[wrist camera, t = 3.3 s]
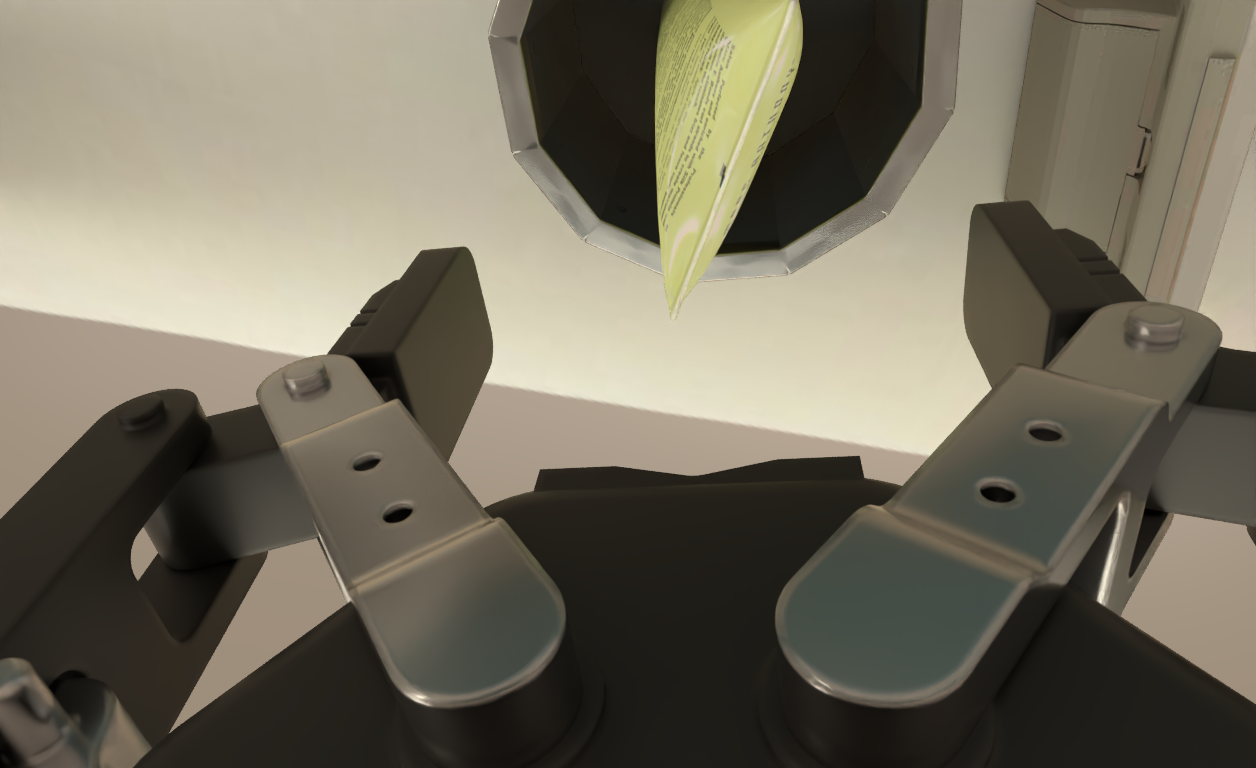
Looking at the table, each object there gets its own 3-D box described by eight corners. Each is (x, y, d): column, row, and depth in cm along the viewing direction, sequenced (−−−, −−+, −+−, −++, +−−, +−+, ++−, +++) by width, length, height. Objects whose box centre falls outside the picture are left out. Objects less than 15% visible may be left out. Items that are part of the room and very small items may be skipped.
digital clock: (1136, 289, 39) (1257, 423, 30) (940, 259, 39) (1003, 383, 30) (1341, -118, 30) (1597, -99, 21) (1087, -155, 30) (1236, -151, 21)
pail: (579, 195, 39) (539, 294, 31) (520, -163, 32) (446, -162, 23) (894, 166, 37) (943, 264, 29) (908, -225, 30) (981, -247, 21)
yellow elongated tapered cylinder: (808, 57, 35) (880, 253, 19) (694, 106, 37) (669, 326, 20) (761, -86, 33) (798, -3, 16) (640, -27, 34) (562, 103, 18)
